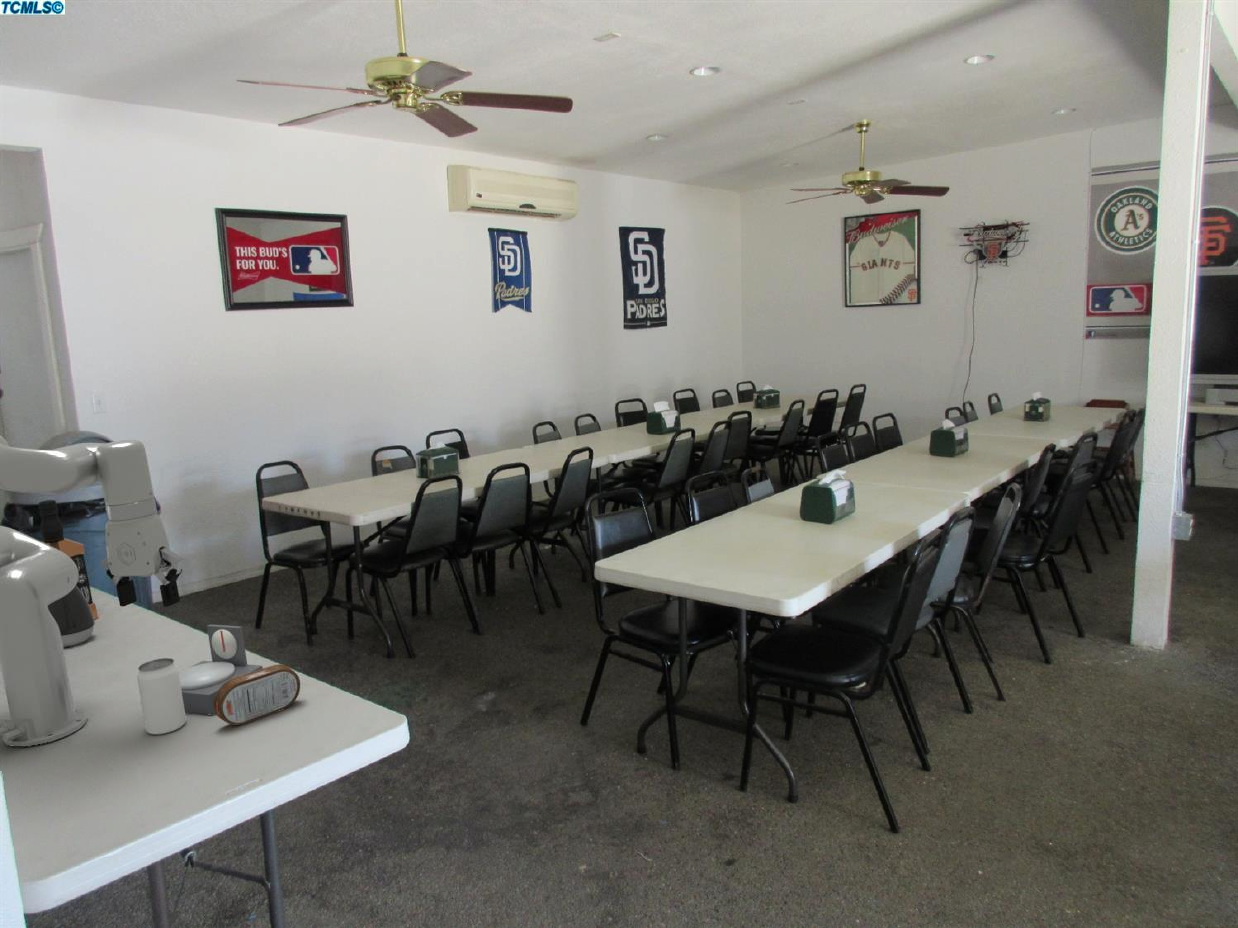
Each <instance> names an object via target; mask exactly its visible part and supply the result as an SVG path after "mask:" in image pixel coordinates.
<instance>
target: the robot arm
mask: <svg viewBox="0 0 1238 928" xmlns="http://www.w3.org/2000/svg"><path fill="white" fill-rule="evenodd" d="M9 445H10V444H9V443H8V441H7V439H5V438H4V437H3V436H2V435H0V489H1V490H4V491H8V492H14V493H22V494H23V493H24V494H35V495H50V496H55V495H64V494H68V493H72V492H74V491H77V490H80V489H82V488H87V487H90V486H92V485H96V484H100V483H101V489H102V494H103V499H104V504H105V512H106V513H107V519H108V520H107V521H106V522H105V549H106V554H107V556H105V557H104V558H102V559H101V561H100V564H101V565H102V567H103V568H104V570H105V571H106V575H107V576H108V577H109V578H110V579H111V582H112V583H111V584H112V585H114V586H115V589H116V593H117V597H118V602H119V603H118V604H119V606H120V607H126V606H129V605H131V604H133V603H136V602H137V600H138V598H137V593H136V587H135V583H134V579H131V578H133V577H135V578H137V577H140V578H142V577H143V578H145V577H146V578H147V577H151V576H155V577H156V578H157V579H158V580H159V581H160V582H161V585H159V590H160V595H161V600H162V604H163V607H165V608H169V607H171V606H172V605H175V604H177V603H180V601H181V600H180V599H181V598H180V593H179V589H178V588H179V586H178V583H177V581H179V580H180V575H181V574H182V572H183V565H184V561H185V560H184V557H182V556H181V555H179V554H177V553H176V552H173V551H172V550H171V548H170V544H169V540H168V539H169V538H168V537H167V536H168V535H167V533H166V532H167V531H166V530H165V526H164V524H163V521H162V519H161V517H160V515H158V509H157V506H156V500H155V495H154V493H155V492H154V491H153V490H154V488H153V483H152V479H151V473H150V467H149V463H148V458H147V457H148V456H147V451H146V447H145V445H144V444H143V442H142V441H140V440H136V439H127V440H118V441H111V442H105V443H102V442H81V443H75V444H72V445H71V444H70V445H67V446H63V447H62V446H61V447H58V448H54V449H45V450H44V449H33V448H21V447H15V446H14V447H13V446H9ZM43 542H44V541H40V540H39V539H36V538H35V537H32V536H29V535H27V534H25V533H23V532H21V531H18V530H16V529H13V528H11V527H7V526H4V525H0V671H1V675H2V680H3V681H2V682H3V684H4V690H5V694H6V695H5V696H6V701H7V705H8V711H9V715H10V716H9V715H8V716H7V717H4V724H3V725H1V726H0V741H1V740H3V742H4V744H5V745H6V746H8V745H13V746H28V747H32V746H31V745H35V746H39V745H38V744H40V745H43V743H44V744H48V743H50V742H55V741H57V740H60V739H63V738H64V737H67V736H70V735H71V734H74V733H75V732H77V731H79V730H80V729H81V728H83V726H84V725H85V724H86V723H87V720H88V719H87V714H86V712H84V711H82V710H78V709H76V708H75V703H74V698H73V693H72V688H71V682H70V675H69V672H68V665H67V660H66V655H65V650H64V648H65V647H63V643H62V638H61V634H60V630H59V627H58V625H57V623H56V621H55V619H54V618H53V616H52V615H51V613H50V612H49V610H48V605H49V604H51V603H53V602H54V601H56V600H58V599H60V598H62V597H64V596H65V595H67V594H68V593H69V592H70V591H72V590H73V588H74V587H75V586H76V584H77V581H78V577H79V574H78V569H77V566H76V564H75V563H74V561H73V560H72V559H71V558H70V557H69V556H68V555H66V554H65V553H63V552H62V551H60V550H58V549H56V548H54V547H51V546H49V545H47V544H45V543H43ZM165 574H166V575H165ZM47 742H48V743H47Z"/></svg>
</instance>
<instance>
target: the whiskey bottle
mask: <svg viewBox="0 0 1238 928" xmlns="http://www.w3.org/2000/svg"><path fill="white" fill-rule="evenodd" d="M38 510H39V514H40V515H39V516H40V518H41V523H40V533H41V537H42V538H43V541H42V542H43V543H45V544H47V545H49V546H51V547H54V548H56V549H58V550H60V551H62V552H63V553H65V554H66V555H68V556H69V557H70V558H71V559H72V560H73V561H74V563H75V564H76V566H77V569H78V574H79V577H78V581H77V584H76V586H77V587H78V588H79V589H80V591H81V592H82V593H83V595H84V597H85V598H86V600H87V602H88V604H89V606H90V608H91V611H92V614H93V617H94V620H97V619H99V615H98V610H97V607H96V602H93V597H92V592H91V586H90V581H89V576H88V571H87V570H88V569H87V565H86V562H85V556H84V554H85V552H86V551H85V547H84V546H85V545H84V544H83V543H82V542H79V541H74V540H72V539H68V538H66V537H65V536H64V526H63V523H62V521H61V519H60V518H59V511H58V504H57V501H56V500H55V499H49V500H43V501H40V502H38Z"/></svg>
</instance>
